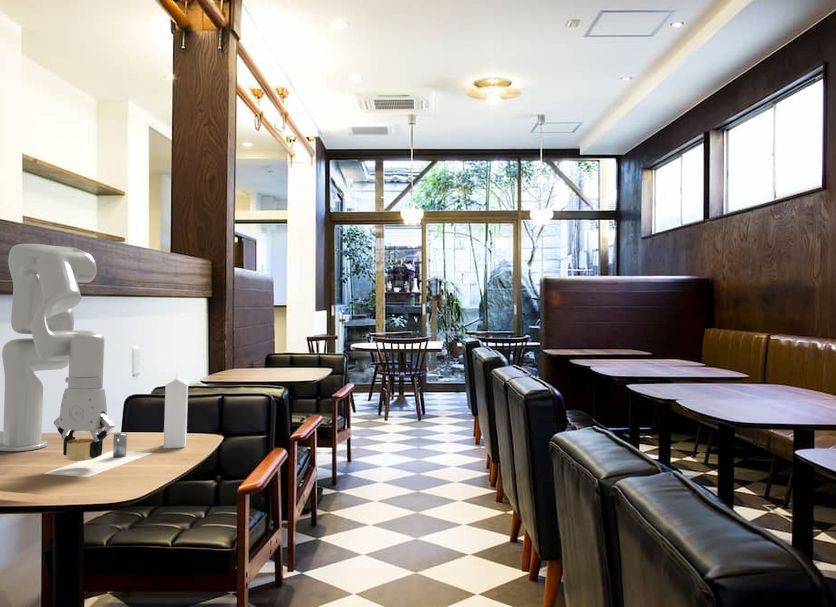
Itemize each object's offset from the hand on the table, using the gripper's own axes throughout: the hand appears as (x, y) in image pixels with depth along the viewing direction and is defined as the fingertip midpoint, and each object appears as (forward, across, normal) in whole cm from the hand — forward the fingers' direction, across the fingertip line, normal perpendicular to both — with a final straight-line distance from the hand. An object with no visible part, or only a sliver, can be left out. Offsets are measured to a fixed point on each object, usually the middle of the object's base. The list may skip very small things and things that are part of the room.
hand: (82, 454), depth 154 cm
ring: (+1, 0, 0) cm, 1 cm away
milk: (+5, +4, +36) cm, 36 cm away
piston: (+4, +1, +14) cm, 14 cm away
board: (+5, +1, +7) cm, 8 cm away
